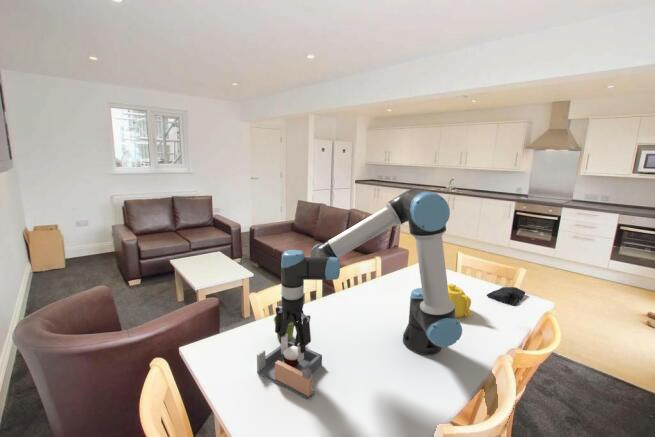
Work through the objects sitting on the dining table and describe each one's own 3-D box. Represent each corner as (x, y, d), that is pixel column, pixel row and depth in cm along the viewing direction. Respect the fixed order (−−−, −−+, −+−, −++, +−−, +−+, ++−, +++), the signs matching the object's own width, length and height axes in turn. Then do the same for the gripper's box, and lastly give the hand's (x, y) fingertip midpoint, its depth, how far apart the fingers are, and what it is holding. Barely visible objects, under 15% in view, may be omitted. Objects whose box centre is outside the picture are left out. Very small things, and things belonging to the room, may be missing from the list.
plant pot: (300, 334, 132) (300, 315, 130) (290, 346, 123) (290, 326, 122) (280, 329, 135) (280, 311, 133) (269, 341, 126) (269, 322, 125)
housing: (335, 371, 110) (336, 353, 109) (308, 400, 96) (308, 380, 95) (287, 349, 122) (287, 333, 120) (257, 372, 108) (256, 354, 107)
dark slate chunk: (530, 297, 175) (531, 289, 174) (513, 307, 162) (514, 299, 161) (501, 287, 187) (502, 280, 186) (483, 297, 173) (485, 289, 173)
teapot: (415, 303, 163) (418, 279, 160) (437, 296, 172) (440, 272, 170) (458, 325, 142) (462, 297, 140) (480, 315, 152) (484, 289, 149)
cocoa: (287, 374, 106) (288, 344, 103) (276, 363, 111) (277, 334, 107) (308, 361, 113) (310, 332, 109) (297, 352, 117) (299, 324, 114)
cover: (312, 393, 98) (312, 370, 96) (308, 397, 96) (308, 374, 95) (278, 375, 105) (278, 354, 104) (274, 379, 104) (274, 357, 102)
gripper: (322, 299, 104) (321, 360, 109) (278, 284, 115) (278, 341, 119) (309, 307, 98) (308, 372, 102) (263, 291, 108) (264, 351, 113)
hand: (292, 355), depth 111 cm, fingers open, 7 cm apart
